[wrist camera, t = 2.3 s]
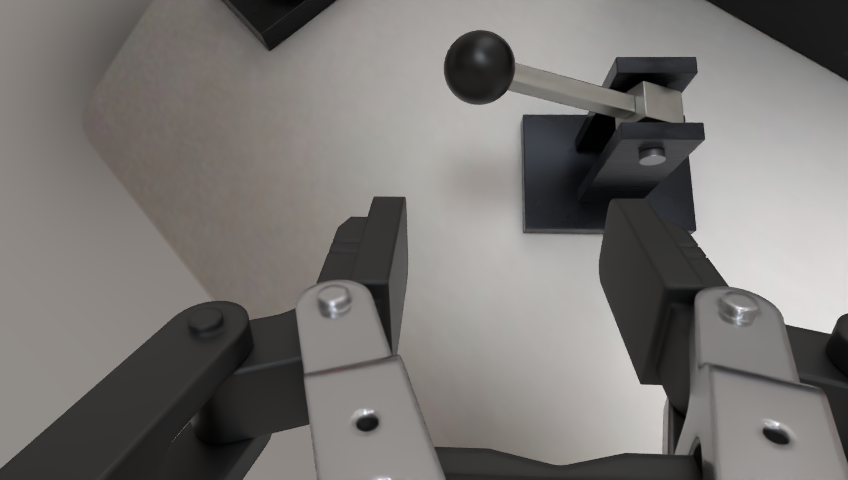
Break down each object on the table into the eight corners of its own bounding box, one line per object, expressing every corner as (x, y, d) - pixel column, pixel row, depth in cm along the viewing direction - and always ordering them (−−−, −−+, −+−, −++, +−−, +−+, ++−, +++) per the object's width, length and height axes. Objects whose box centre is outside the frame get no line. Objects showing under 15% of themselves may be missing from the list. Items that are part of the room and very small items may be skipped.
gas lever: (431, 108, 29) (462, 74, 25) (433, 47, 29) (463, 6, 26) (646, 157, 34) (695, 133, 30) (642, 103, 35) (688, 75, 31)
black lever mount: (523, 232, 41) (551, 173, 29) (521, 121, 43) (546, 26, 32) (689, 235, 40) (784, 175, 29) (678, 122, 43) (761, 25, 31)
